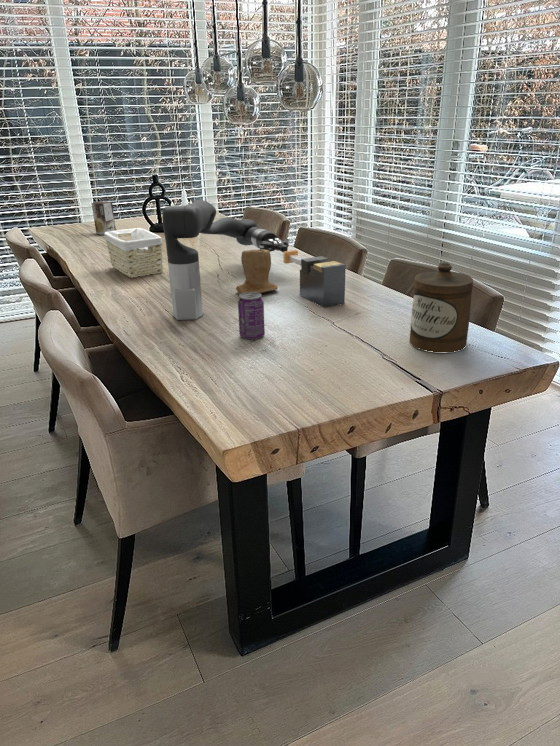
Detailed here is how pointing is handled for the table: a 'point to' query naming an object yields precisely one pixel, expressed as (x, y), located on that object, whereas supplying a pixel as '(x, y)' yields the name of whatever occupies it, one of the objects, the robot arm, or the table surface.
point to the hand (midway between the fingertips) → (285, 249)
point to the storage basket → (135, 252)
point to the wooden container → (441, 310)
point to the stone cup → (256, 272)
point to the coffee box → (103, 217)
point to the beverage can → (251, 315)
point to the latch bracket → (322, 281)
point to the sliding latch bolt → (293, 257)
